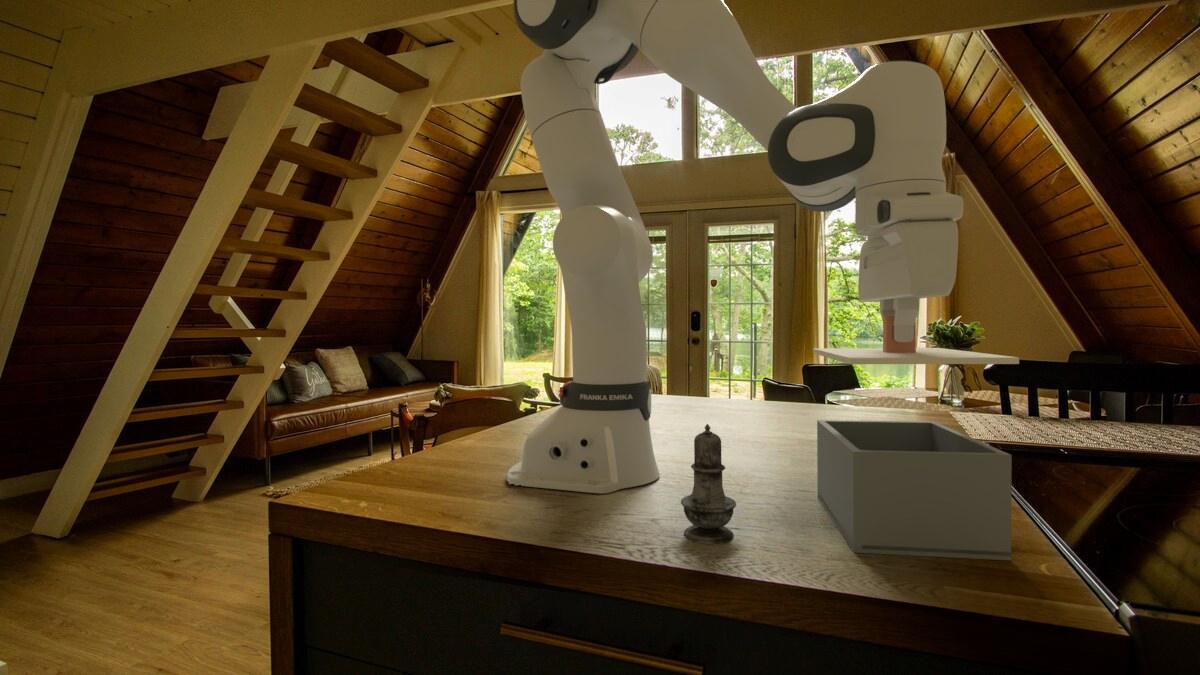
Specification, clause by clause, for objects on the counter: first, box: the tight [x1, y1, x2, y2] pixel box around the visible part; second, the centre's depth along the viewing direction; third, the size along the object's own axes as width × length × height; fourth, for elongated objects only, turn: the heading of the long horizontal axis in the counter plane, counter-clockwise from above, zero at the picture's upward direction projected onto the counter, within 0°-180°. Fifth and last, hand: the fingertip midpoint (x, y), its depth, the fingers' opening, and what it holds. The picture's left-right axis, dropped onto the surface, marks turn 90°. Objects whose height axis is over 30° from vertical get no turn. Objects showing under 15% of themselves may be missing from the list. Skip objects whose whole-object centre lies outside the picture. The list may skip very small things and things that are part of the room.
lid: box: [812, 316, 1020, 365], centre depth 64 cm, size 15×19×5 cm
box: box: [816, 419, 1013, 561], centre depth 65 cm, size 14×18×10 cm
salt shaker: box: [680, 423, 737, 545], centre depth 62 cm, size 6×6×12 cm
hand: (898, 341), depth 64 cm, fingers closed on lid
